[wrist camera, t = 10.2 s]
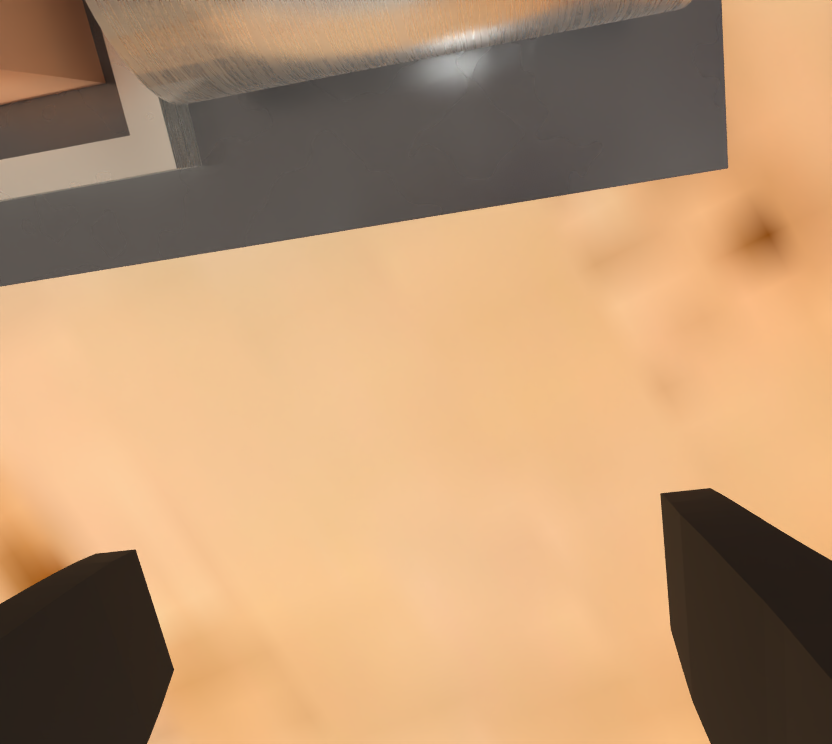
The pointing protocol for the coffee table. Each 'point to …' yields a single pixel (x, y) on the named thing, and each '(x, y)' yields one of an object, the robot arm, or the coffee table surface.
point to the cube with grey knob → (45, 49)
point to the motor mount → (347, 120)
